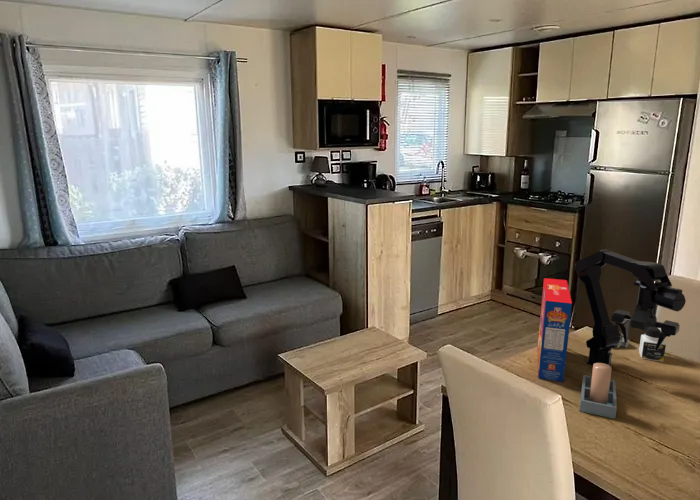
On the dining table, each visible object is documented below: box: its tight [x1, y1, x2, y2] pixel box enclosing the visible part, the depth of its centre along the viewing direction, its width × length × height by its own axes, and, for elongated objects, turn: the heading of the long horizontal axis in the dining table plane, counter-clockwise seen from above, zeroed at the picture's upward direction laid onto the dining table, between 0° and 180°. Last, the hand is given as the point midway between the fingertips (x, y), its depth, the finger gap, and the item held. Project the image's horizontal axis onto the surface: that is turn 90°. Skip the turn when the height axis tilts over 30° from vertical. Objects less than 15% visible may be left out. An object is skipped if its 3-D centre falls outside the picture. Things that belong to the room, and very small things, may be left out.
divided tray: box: [579, 374, 618, 420], centre depth 159 cm, size 18×10×4 cm, turn 154°
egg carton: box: [615, 331, 631, 348], centre depth 201 cm, size 11×8×4 cm
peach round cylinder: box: [589, 363, 612, 405], centre depth 153 cm, size 5×5×13 cm
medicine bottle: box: [638, 327, 667, 363], centre depth 189 cm, size 7×7×12 cm
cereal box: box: [537, 277, 573, 383], centre depth 182 cm, size 28×8×28 cm, turn 161°
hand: (641, 346), depth 168 cm, fingers open, 9 cm apart
